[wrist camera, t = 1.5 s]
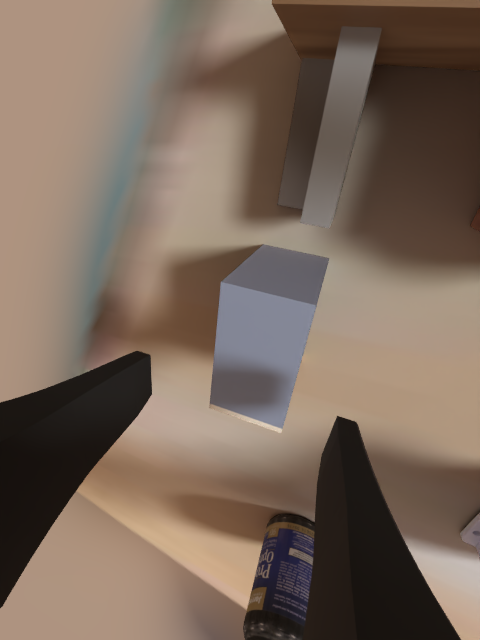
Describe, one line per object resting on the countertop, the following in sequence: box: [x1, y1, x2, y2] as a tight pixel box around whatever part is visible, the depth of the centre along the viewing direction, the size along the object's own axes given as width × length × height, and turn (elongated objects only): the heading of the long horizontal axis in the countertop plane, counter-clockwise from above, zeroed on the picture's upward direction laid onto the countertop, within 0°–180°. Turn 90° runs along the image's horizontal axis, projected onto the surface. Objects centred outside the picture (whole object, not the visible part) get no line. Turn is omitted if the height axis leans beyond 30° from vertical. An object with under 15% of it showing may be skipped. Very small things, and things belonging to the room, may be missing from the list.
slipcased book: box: [209, 245, 329, 433], centre depth 16 cm, size 7×4×6 cm, turn 173°
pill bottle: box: [243, 514, 315, 640], centre depth 24 cm, size 6×6×11 cm
